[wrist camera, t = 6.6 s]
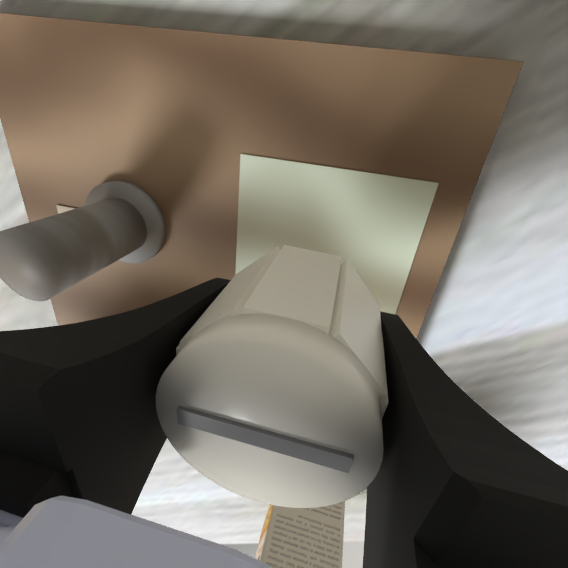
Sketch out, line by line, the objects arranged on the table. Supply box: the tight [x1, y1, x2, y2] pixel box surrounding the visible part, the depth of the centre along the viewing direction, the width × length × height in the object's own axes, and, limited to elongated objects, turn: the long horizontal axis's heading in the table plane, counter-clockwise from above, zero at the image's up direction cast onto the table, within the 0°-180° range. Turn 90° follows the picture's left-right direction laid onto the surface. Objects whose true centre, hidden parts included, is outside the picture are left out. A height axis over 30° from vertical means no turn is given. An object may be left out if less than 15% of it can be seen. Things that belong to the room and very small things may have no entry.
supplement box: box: [255, 501, 345, 568], centre depth 21 cm, size 8×5×13 cm, turn 170°
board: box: [0, 13, 523, 339], centre depth 15 cm, size 18×24×8 cm
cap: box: [156, 245, 388, 508], centre depth 9 cm, size 5×5×5 cm
